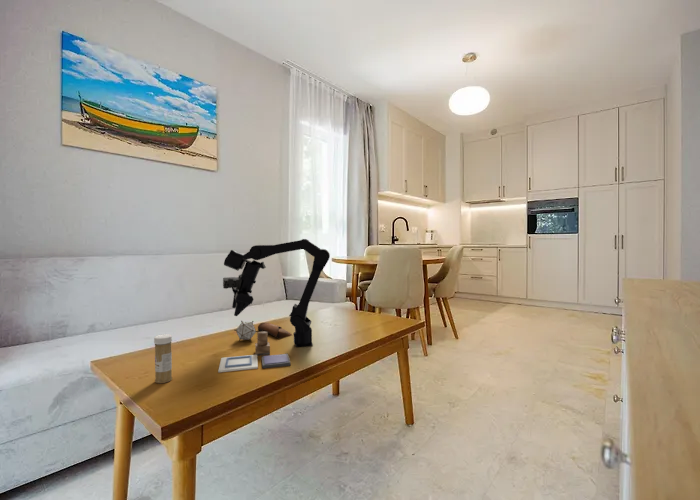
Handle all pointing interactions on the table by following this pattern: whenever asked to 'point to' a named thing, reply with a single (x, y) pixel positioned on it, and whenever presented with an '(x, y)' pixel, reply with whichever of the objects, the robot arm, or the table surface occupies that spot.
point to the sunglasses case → (274, 330)
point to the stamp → (262, 344)
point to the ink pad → (275, 361)
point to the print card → (238, 363)
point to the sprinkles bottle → (163, 358)
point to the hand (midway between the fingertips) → (234, 311)
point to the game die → (246, 330)
